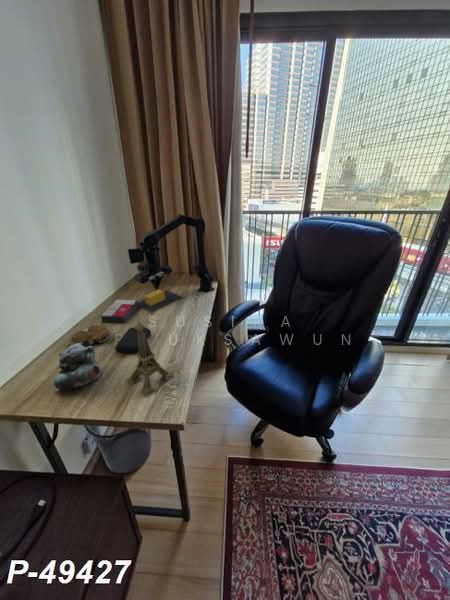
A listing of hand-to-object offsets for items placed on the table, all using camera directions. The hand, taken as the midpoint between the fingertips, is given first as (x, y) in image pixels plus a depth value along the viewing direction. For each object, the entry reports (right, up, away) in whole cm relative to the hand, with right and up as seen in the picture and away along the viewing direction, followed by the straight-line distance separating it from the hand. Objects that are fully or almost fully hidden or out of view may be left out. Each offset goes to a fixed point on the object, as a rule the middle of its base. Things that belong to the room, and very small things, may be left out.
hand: (156, 289), depth 128 cm
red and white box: (-15, -12, -9) cm, 21 cm away
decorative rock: (-19, -21, -25) cm, 38 cm away
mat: (+1, -6, +2) cm, 7 cm away
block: (+2, -2, +4) cm, 5 cm away
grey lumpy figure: (-13, -32, -46) cm, 57 cm away
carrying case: (-1, -22, -28) cm, 36 cm away
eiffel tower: (+11, -31, -46) cm, 56 cm away
